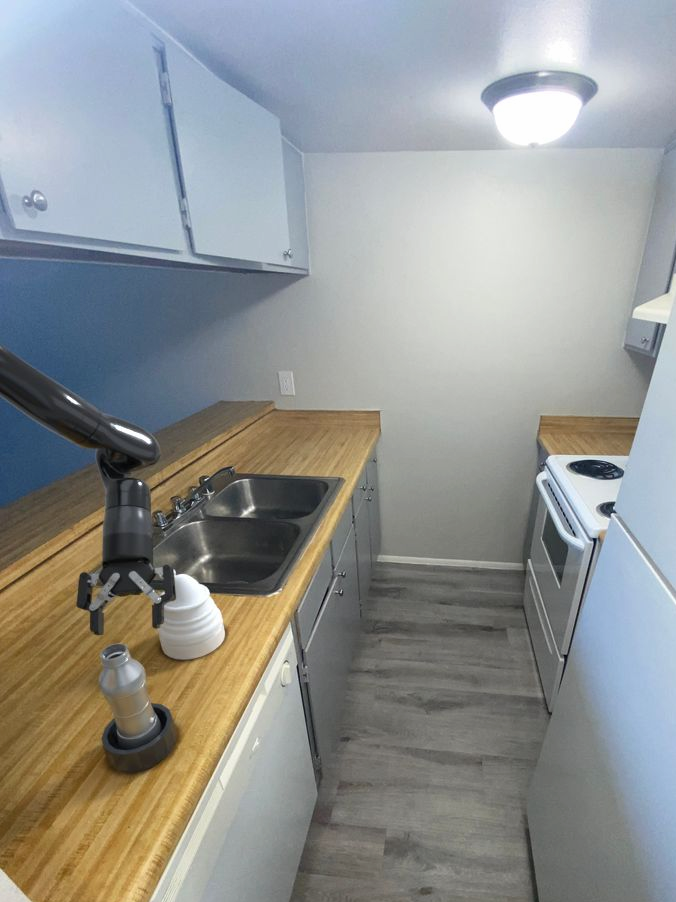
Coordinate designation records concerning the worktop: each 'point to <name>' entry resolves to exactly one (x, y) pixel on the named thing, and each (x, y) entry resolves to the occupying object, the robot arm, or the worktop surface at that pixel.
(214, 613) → the honey pot
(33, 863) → the worktop surface
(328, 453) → the worktop surface
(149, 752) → the socket
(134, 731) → the silver bottle
